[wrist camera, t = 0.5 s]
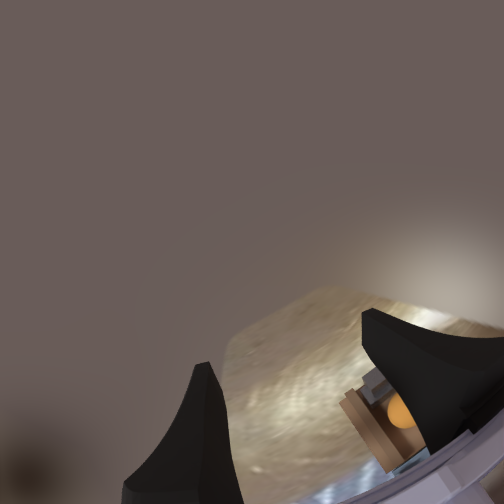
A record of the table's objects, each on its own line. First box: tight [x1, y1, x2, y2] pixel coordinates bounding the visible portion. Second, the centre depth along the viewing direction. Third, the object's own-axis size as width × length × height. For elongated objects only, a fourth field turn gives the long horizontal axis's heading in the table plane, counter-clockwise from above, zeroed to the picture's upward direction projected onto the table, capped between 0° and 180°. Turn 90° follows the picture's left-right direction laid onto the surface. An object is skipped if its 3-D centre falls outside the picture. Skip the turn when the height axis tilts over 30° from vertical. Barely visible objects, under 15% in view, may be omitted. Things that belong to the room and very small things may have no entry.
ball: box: [388, 393, 416, 429], centre depth 20 cm, size 4×4×4 cm
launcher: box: [339, 385, 426, 474], centre depth 22 cm, size 10×10×4 cm
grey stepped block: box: [360, 367, 396, 409], centre depth 22 cm, size 2×5×5 cm, turn 113°
